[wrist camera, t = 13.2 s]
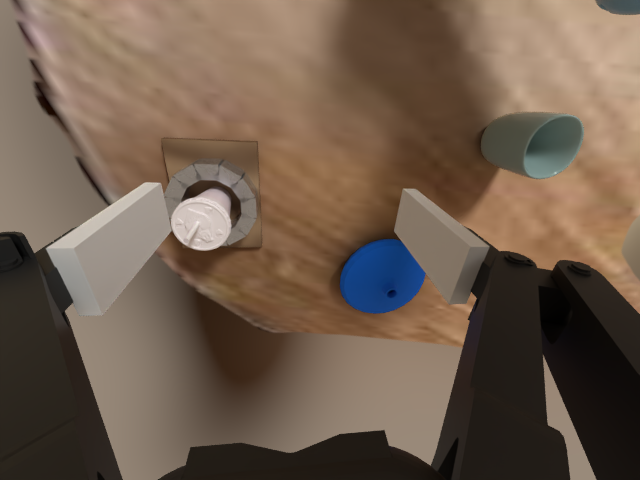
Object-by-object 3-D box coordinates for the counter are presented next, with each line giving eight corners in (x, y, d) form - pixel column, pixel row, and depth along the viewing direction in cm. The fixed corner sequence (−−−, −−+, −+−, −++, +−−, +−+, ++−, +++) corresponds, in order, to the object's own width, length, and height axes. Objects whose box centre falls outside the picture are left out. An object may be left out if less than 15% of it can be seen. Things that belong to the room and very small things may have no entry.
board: (164, 137, 36) (160, 138, 35) (257, 141, 38) (257, 142, 36) (184, 244, 43) (182, 248, 42) (262, 243, 45) (261, 247, 44)
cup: (467, 165, 43) (515, 183, 35) (476, 112, 40) (533, 116, 31) (512, 160, 44) (571, 176, 35) (526, 107, 40) (595, 110, 32)
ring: (166, 157, 36) (156, 162, 33) (255, 159, 37) (254, 165, 34) (181, 235, 41) (174, 246, 38) (259, 234, 43) (258, 245, 40)
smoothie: (226, 169, 38) (200, 204, 25) (248, 209, 41) (235, 258, 28) (185, 187, 38) (139, 230, 26) (210, 225, 41) (180, 280, 29)
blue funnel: (431, 272, 53) (452, 296, 47) (364, 315, 56) (375, 342, 50) (394, 214, 46) (412, 233, 40) (319, 266, 49) (325, 291, 43)
